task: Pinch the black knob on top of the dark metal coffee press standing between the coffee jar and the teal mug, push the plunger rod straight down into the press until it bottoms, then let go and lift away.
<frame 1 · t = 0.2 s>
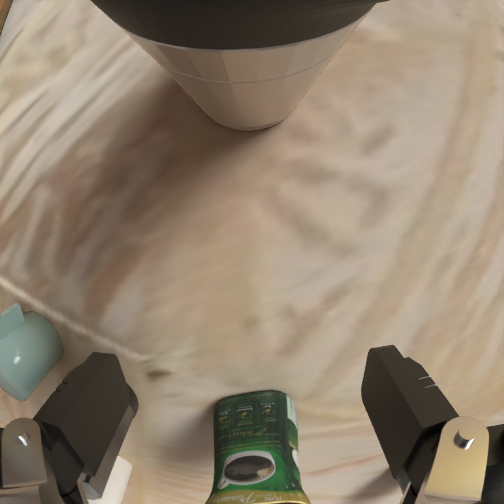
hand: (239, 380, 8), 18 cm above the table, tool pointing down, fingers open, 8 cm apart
coffee jar: (256, 409, 31), on the table
cylindrical container: (114, 460, 37), on the table
teal mug: (41, 337, 29), on the table
press carafe: (104, 393, 31), on the table
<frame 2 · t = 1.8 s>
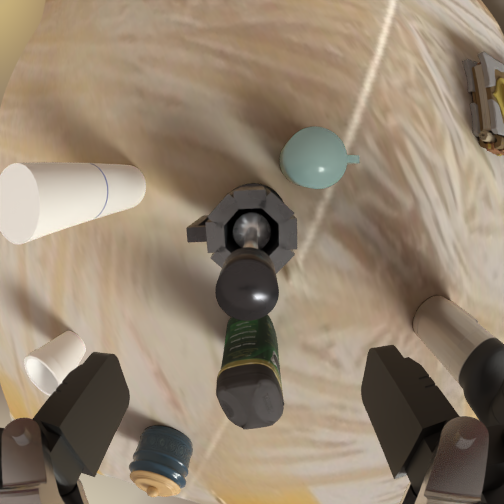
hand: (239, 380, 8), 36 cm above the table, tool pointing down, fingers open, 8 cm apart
canister: (167, 440, 57), on the table
coffee jar: (252, 333, 49), on the table
foam cup: (74, 343, 50), on the table
cylindrical container: (126, 186, 42), on the table
teal mug: (304, 161, 41), on the table
press carafe: (253, 216, 43), on the table
plunger: (250, 250, 23), point 21 cm above the table, slide at 0.0 cm
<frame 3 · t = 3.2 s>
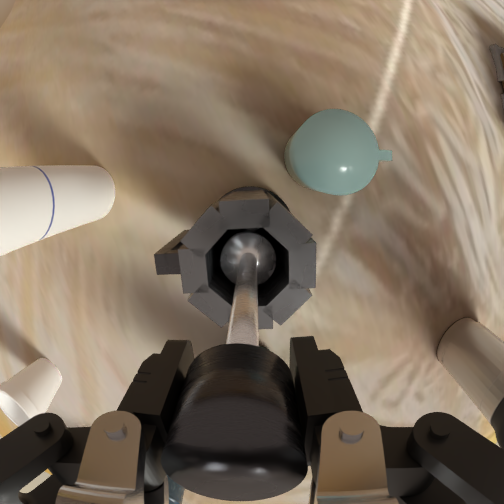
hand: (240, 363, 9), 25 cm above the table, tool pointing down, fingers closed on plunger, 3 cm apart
canister: (159, 471, 47), on the table
foam cup: (49, 370, 40), on the table
cylindrical container: (92, 193, 33), on the table
teal mug: (317, 157, 31), on the table
press carafe: (250, 229, 33), on the table
plunger: (244, 307, 13), point 21 cm above the table, slide at 0.0 cm, touching gripper
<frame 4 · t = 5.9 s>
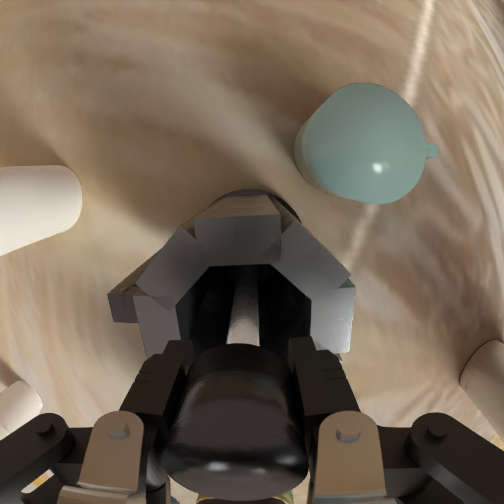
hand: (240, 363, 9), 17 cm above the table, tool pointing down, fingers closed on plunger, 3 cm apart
coffee jar: (250, 407, 31), on the table
foam cup: (29, 394, 33), on the table
cylindrical container: (58, 198, 25), on the table
teal mug: (335, 152, 24), on the table
press carafe: (249, 244, 26), on the table
plunger: (245, 307, 13), point 13 cm above the table, slide at 7.8 cm, touching gripper
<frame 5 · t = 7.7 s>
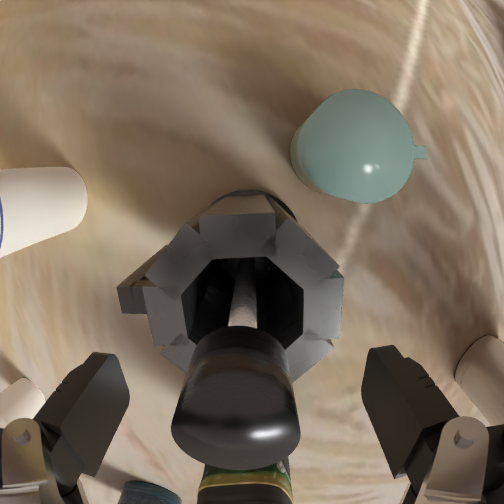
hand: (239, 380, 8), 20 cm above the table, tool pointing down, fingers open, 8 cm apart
canister: (153, 493, 41), on the table
coffee jar: (249, 400, 32), on the table
foam cup: (32, 391, 34), on the table
cylindrical container: (63, 199, 26), on the table
teal mug: (330, 154, 25), on the table
press carafe: (248, 242, 27), on the table
plunger: (244, 299, 14), point 13 cm above the table, slide at 7.6 cm
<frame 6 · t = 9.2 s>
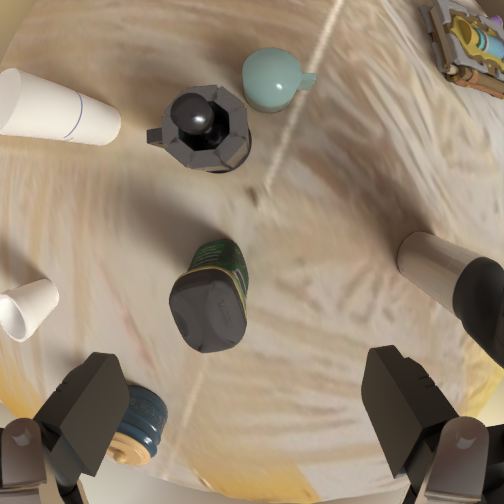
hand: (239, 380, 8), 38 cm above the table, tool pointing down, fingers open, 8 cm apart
decorative book: (469, 46, 35), on the table
canister: (142, 404, 56), on the table
coffee jar: (222, 267, 47), on the table
foam cup: (48, 292, 49), on the table
cylindrical container: (103, 125, 41), on the table
teal mug: (268, 91, 40), on the table
press carafe: (219, 142, 42), on the table
plunger: (206, 128, 29), point 13 cm above the table, slide at 7.6 cm
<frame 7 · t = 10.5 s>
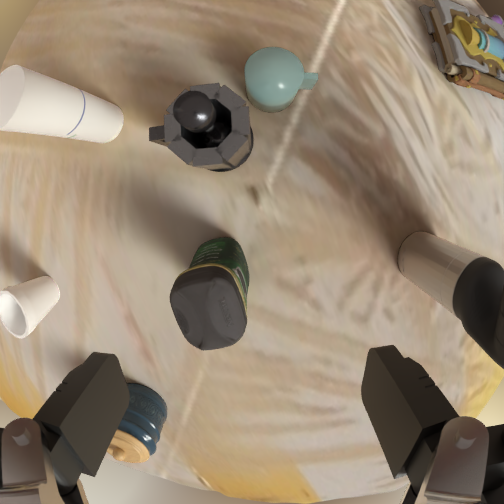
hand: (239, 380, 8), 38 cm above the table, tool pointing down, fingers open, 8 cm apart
decorative book: (470, 46, 35), on the table
canister: (141, 402, 56), on the table
coffee jar: (223, 265, 47), on the table
foam cup: (49, 289, 49), on the table
cylindrical container: (106, 123, 41), on the table
teal mug: (270, 90, 40), on the table
press carafe: (221, 140, 42), on the table
plunger: (208, 126, 29), point 13 cm above the table, slide at 7.6 cm
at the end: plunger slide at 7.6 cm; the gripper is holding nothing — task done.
